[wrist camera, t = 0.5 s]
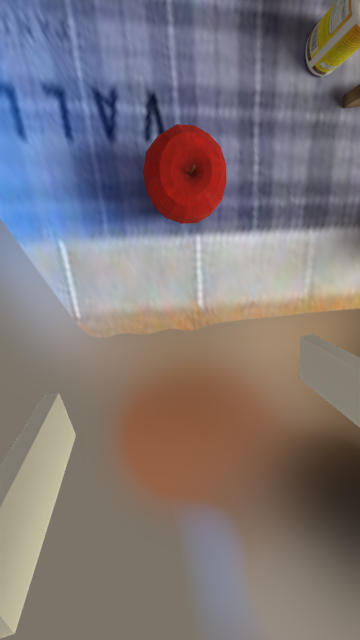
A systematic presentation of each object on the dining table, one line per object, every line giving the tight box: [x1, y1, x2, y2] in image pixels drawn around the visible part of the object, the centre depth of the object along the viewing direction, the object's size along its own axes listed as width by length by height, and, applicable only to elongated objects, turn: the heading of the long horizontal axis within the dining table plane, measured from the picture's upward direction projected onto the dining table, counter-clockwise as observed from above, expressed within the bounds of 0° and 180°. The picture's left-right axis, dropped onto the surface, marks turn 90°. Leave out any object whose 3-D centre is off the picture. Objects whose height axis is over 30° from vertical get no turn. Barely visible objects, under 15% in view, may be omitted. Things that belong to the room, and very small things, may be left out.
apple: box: [143, 124, 226, 224], centre depth 28 cm, size 10×10×11 cm
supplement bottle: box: [305, 0, 360, 76], centre depth 27 cm, size 6×6×10 cm
